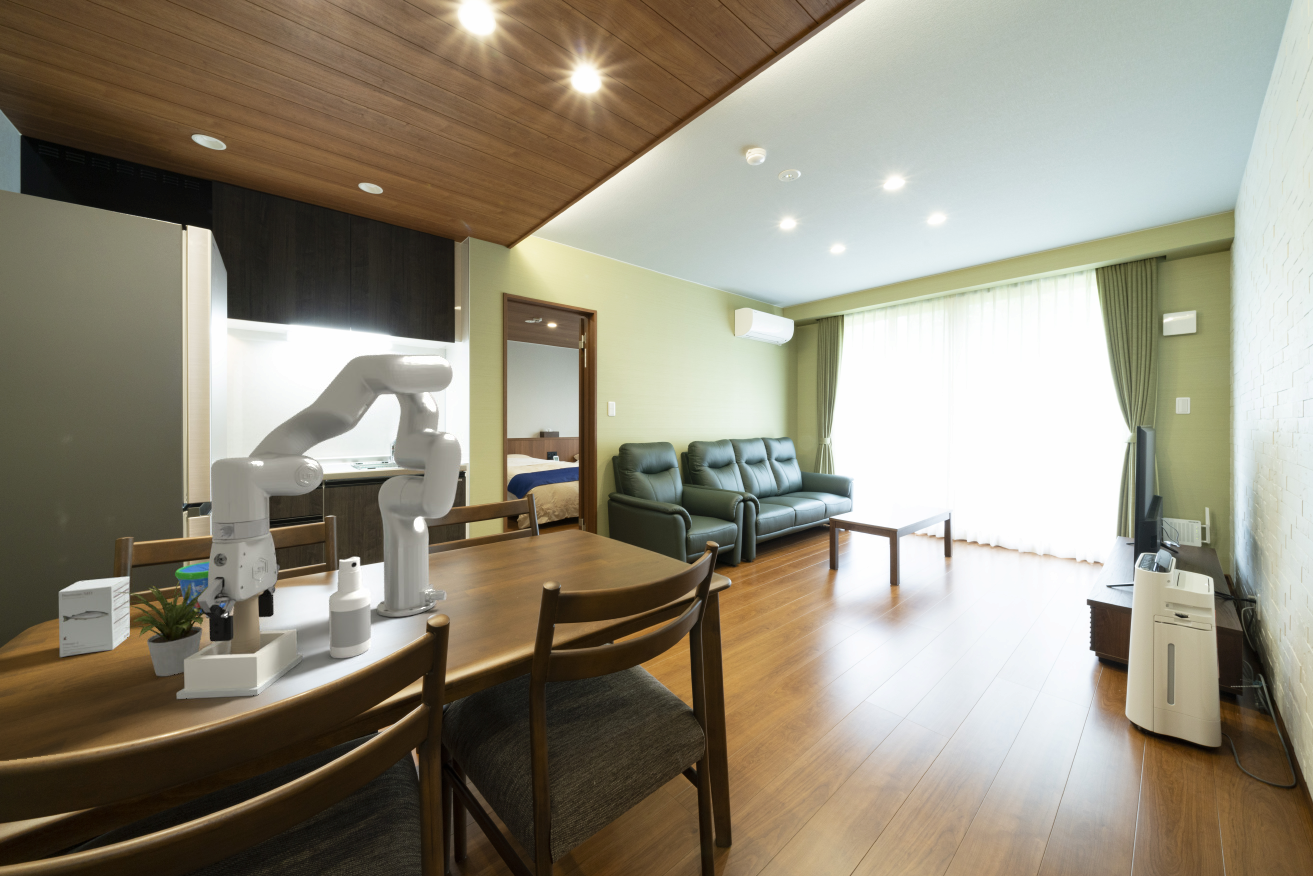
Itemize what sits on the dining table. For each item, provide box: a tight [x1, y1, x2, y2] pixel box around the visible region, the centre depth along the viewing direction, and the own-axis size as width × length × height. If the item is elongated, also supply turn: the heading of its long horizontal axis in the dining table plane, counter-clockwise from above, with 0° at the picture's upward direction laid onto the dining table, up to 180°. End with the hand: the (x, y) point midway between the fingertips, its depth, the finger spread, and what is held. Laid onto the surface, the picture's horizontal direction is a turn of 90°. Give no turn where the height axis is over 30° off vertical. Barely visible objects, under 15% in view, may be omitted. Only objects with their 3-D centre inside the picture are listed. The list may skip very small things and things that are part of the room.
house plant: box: [118, 578, 208, 677], centre depth 87 cm, size 14×14×16 cm
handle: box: [226, 591, 264, 655], centre depth 85 cm, size 5×6×15 cm
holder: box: [176, 629, 304, 700], centre depth 85 cm, size 12×12×6 cm
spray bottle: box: [328, 556, 372, 659], centre depth 95 cm, size 7×7×18 cm
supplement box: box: [58, 576, 131, 658], centre depth 96 cm, size 7×7×13 cm
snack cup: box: [174, 561, 226, 615], centre depth 115 cm, size 16×10×10 cm
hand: (243, 627), depth 85 cm, fingers open, 9 cm apart
